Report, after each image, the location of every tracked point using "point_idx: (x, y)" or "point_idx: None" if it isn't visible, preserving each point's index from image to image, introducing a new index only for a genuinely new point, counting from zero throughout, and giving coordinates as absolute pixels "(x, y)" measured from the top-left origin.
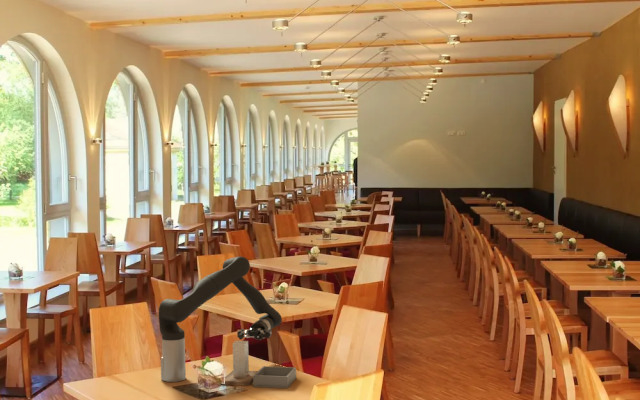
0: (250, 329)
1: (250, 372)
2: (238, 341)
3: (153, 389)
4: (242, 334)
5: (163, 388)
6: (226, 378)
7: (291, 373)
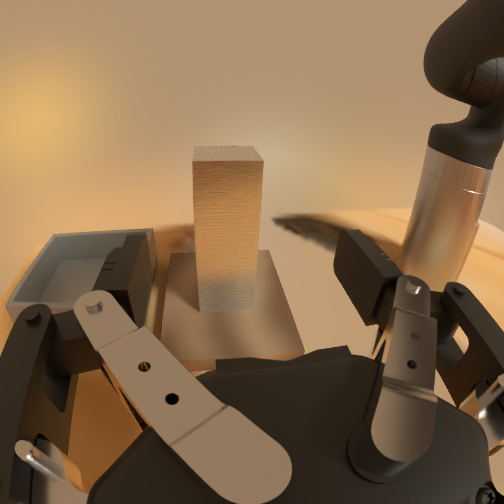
0: (393, 366)
1: (203, 336)
2: (242, 155)
3: (389, 225)
4: (362, 263)
5: (379, 230)
6: (264, 266)
7: (34, 264)
